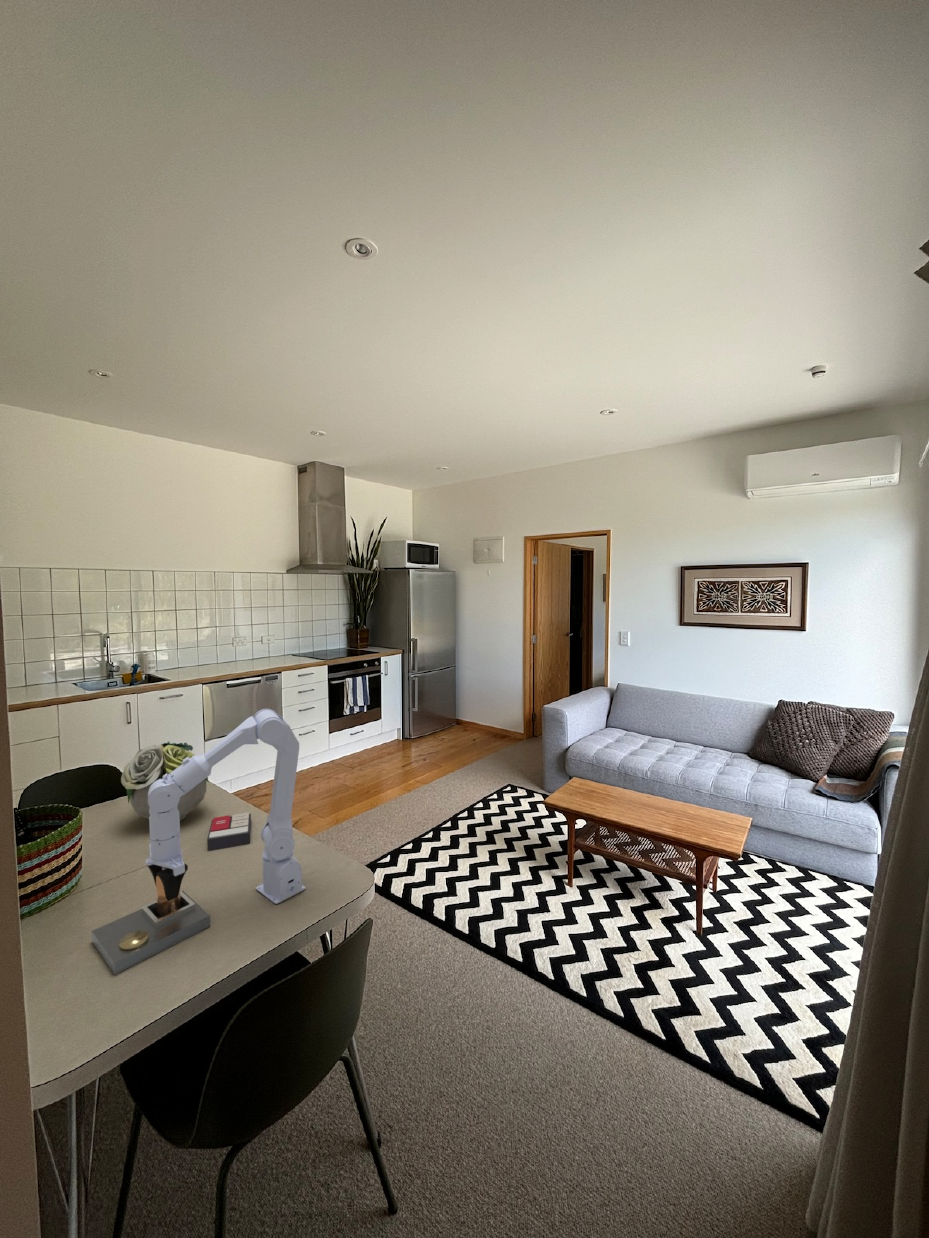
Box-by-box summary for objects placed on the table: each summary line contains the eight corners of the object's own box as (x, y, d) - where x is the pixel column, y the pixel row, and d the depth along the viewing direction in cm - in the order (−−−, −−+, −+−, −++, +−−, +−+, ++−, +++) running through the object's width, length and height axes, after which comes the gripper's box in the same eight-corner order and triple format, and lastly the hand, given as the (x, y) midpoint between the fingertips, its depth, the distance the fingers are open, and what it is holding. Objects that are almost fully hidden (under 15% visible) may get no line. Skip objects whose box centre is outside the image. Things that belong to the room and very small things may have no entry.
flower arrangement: (103, 835, 151) (98, 755, 150) (163, 800, 176) (160, 730, 174) (179, 841, 148) (176, 759, 146) (230, 804, 173) (228, 733, 171)
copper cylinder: (184, 906, 114) (183, 865, 113) (163, 917, 111) (161, 875, 110) (174, 899, 117) (173, 858, 116) (153, 909, 113) (151, 868, 112)
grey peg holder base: (210, 926, 112) (209, 910, 112) (114, 974, 98) (113, 957, 98) (183, 900, 121) (182, 886, 120) (92, 942, 107) (91, 926, 107)
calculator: (250, 810, 161) (249, 829, 147) (251, 824, 161) (249, 844, 147) (212, 816, 157) (206, 836, 143) (212, 830, 157) (207, 852, 143)
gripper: (132, 831, 114) (135, 889, 115) (158, 853, 105) (160, 916, 106) (167, 819, 119) (169, 875, 120) (194, 839, 110) (196, 900, 111)
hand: (167, 893), depth 113 cm, fingers closed on copper cylinder, 4 cm apart
